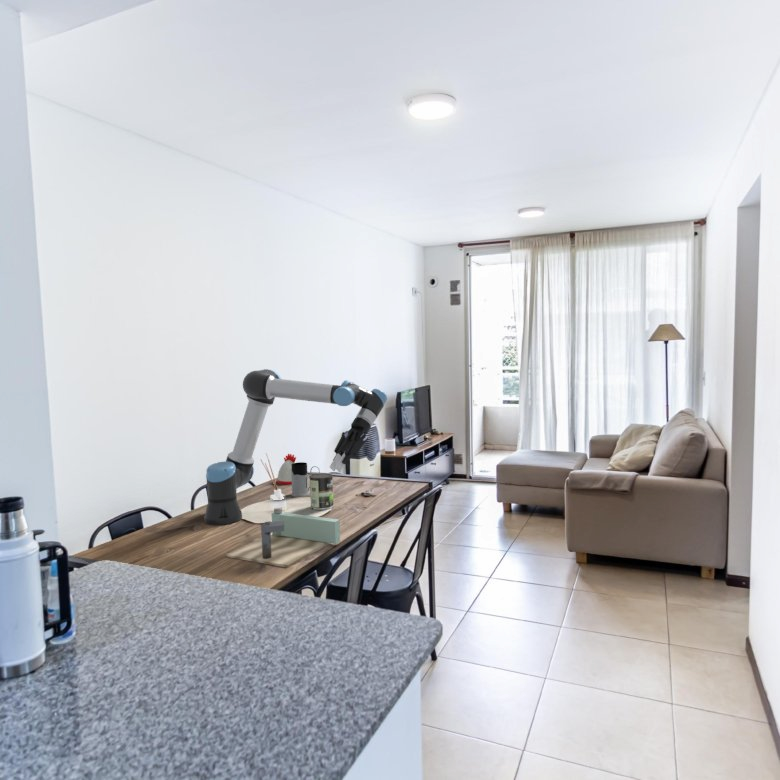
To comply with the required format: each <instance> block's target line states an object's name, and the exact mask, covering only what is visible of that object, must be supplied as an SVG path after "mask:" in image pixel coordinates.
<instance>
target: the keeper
mask: <svg viewBox="0 0 780 780" xmlns="http://www.w3.org/2000/svg"><path fill="white" fill-rule="evenodd" d="M284 527H285V525H284V521H277V522H272V521H266V522H263V523H261V524H260V531H261V532H260V535H261V538H262V558H263V559H269V558H271V557H272V554H271V533H272V532H281V531H284Z"/></svg>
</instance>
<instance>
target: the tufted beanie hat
mask: <svg viewBox="0 0 780 780" xmlns="http://www.w3.org/2000/svg"><path fill="white" fill-rule="evenodd" d="M296 459H297V457H296V456H295V454H292V453H288V454H287V455H285V457H283V460H284V462H283V463H282V465H281V466H280V467H279V471H278V473H277V484H279V485H289V486H290V485H292V475H291V469H292V466H291V464H293V463H298V462H297V461H296Z"/></svg>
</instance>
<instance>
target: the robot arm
mask: <svg viewBox="0 0 780 780" xmlns="http://www.w3.org/2000/svg"><path fill="white" fill-rule="evenodd" d="M242 389H243V391H244V392H245V394H246V398H247V399H248V403H247V405H246V409H245V410H244V411H245V412H244V415H243V419H242V422H241V425H240V427H239V431H238V434H237V438H236V439H235V442H234V446H233V449H232V451H230V452H229V453H227V456H226V459H225V461H218V462H215V463H212V464H210V465H208V467H207V468H206V475H205V479H206V492H207V493H206V494H207V505H206V510H205V514H204V517H203V519H204V521H203V522H204V523H205V524H206V525H210V526H211V525H213V526H221V525H229V524H233V523H237V522H239V521H240V520H242V519H243V513H242V510H241V509H240V505H239V502H238V498H237V497H238V496H237V495H238V494H237V490H238V489H239V488H241V487H243V486H245V485H247V484H248V483H249V482H250V481H251V480H252V479H253V476H254V473H255V469H254V462H255V460H254V458H253V456H254V455H253V454H254V452H255V449H256V446H257V442H258V439H259V436H260V433H261V429H262V426H263V424H264V421H265V418H266V415H267V412H268V408H269V407H270V406H272V405H273V404H274V401H275V398H279V399H287V400H289V399H290V400H298V401H307V402H316V403H325V404H333V405H337V406H340V407H347V406H351V404H354V405H356V406H357V407H360V409H359V411H358V412H357V414H356V416H355V418H354V419H353V420H352V421H351V422H352V423H351V425H350V429H349V430H348V431H347V432H345V431H343V432H342V433H341V436H340V439H339V440H338V442H337V444H336V446H335V448H334V451H333V452H334V453H335V456H334V457H333V459H332V462H331V463H330V465H329V468H330V470H331V471H333V472H335V471H337V472H338V473H341V472H342V470H343V468H344V466H346V465H347V463H348V461H349V460H350V459H352V458H355V457H356V456H357V455H358V453H359V452H360V450H361V449H362V447H363V446H364V445H365V443H366V442H367V441H368V440H369V438H368V436H367V435H368V433H369V431H370V430H371V428H372V426H373V425H374V423H375V421H376V419H377V418H378V416H379V415H380V413H381V412H382V410H383V408H384V406H385V404H386V403H387V400H388V395H387V394H386V393H385V392H384V391H383V390H381V389H379V388H378V389H377V388H373V389H372V390H371V391H370V390H368V389H365V388H363V387H362V386H360V385H358V384H355V383H354V382H352V381H350V380H348V379H346V380H344V381H343V382H342V383H341V385H337V384H336V385H335V384H329V383H320V382H319V383H318V382H311V381H301V380H291V379H283V378H281V376H280V375H279V373H278V372H276V371H275V370H272V369H267V368H266V369H260V370H252V371H250V372H248V373H247V374H246V375H245V377H244V378H243V381H242Z"/></svg>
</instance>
